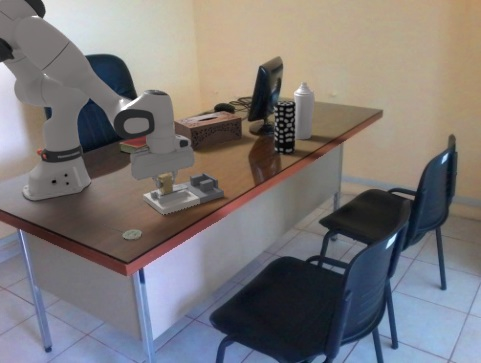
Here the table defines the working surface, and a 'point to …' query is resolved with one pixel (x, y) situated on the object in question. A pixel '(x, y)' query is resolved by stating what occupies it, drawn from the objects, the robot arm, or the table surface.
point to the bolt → (169, 186)
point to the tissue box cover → (210, 129)
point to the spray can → (303, 111)
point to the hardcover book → (133, 144)
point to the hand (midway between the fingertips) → (165, 185)
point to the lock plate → (186, 194)
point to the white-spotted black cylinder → (285, 127)
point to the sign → (130, 233)
